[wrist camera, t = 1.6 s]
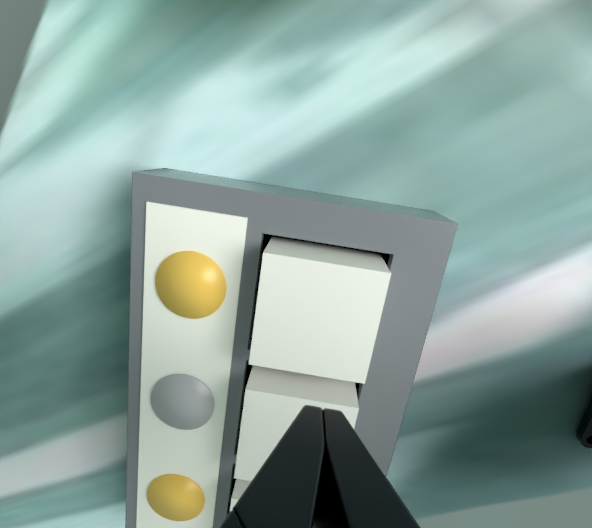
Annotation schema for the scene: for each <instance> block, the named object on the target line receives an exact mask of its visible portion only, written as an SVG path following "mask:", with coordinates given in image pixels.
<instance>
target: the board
mask: <svg viewBox="0 0 592 528" xmlns="http://www.w3.org/2000/svg"><path fill="white" fill-rule="evenodd" d="M457 226H458V224H457V223H455V222H453V221H452V220H450V219H448V218H446V217H444V216H442V215H440V214H438V213H436V212H434V211H429V210H423V209H417V208H411V207H404V206H398V205H392V204H386V203H379V202H373V201H367V200H361V199H354V198H348V197H342V196H336V195H329V194H323V193H317V192H311V191H304V190H298V189H292V188H286V187H279V186H273V185H267V184H260V183H254V182H248V181H242V180H235V179H229V178H223V177H217V176H210V175H204V174H198V173H192V172H185V171H179V170H173V169H167V168H163V169H153V170H144V171H135V172H132V217H131V269H130V320H129V371H128V423H127V474H126V525H125V528H219V527H220V525H221V524H222V522H223V521H224V519H225V518H226V517H227V515H228V514H229V512H230V505H231V501H230V494H231V487H232V479H233V471H234V464H236V458H237V450H238V445H237V440H238V432H239V424H240V416H241V408H242V401H243V393H244V385H245V377H246V369H247V361H249V358H250V350H251V343H250V338H251V330H252V322H253V314H254V307H255V299H256V291H257V283H258V275H259V268H260V260H261V252H262V244H263V236H264V234H270V235H276V236H282V237H288V238H294V239H301V240H307V241H313V242H319V243H325V244H331V245H338V246H344V247H350V248H356V249H362V250H369V251H375V252H381V253H387V254H390V257H389V261H388V265H387V267H388V268H389V270H390V272H391V277H390V281H389V286H388V290H387V294H386V298H385V302H384V306H383V311H382V315H381V319H380V323H379V327H378V331H377V336H376V340H375V344H374V348H373V352H372V356H371V361H370V365H369V369H368V373H367V377H366V381H365V384H362V383H360V384H359V388H358V393H357V398H358V405H359V411H358V415H357V419H356V423H355V427H354V430H355V432H356V433H357V435H358V436H359V438H360V439H361V440H362V442H363V443H364V445H365V446H366V448H367V449H368V451H369V452H370V454H371V455H372V457H373V458H374V460H375V461H376V463H377V464H378V466H379V467H380V469H381V470H382V472H383V473H384V475H385V476H387V472H388V469H389V465H390V462H391V458H392V455H393V451H394V448H395V444H396V441H397V437H398V434H399V430H400V427H401V423H402V419H403V416H404V412H405V409H406V405H407V402H408V398H409V395H410V391H411V388H412V384H413V381H414V377H415V374H416V370H417V367H418V363H419V360H420V356H421V353H422V349H423V346H424V342H425V339H426V335H427V332H428V328H429V325H430V321H431V318H432V314H433V310H434V307H435V303H436V300H437V296H438V293H439V289H440V286H441V282H442V279H443V275H444V272H445V268H446V265H447V261H448V258H449V254H450V251H451V247H452V244H453V240H454V237H455V233H456V230H457Z"/></svg>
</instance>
